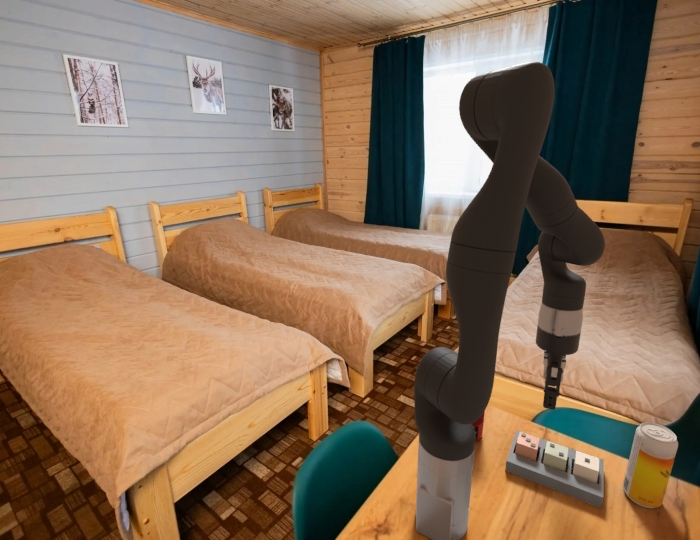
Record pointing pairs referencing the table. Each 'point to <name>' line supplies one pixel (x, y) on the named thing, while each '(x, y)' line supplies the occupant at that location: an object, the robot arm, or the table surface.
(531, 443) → the tile three terracotta
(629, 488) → the beer can
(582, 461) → the tile one cream
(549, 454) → the tile two sage
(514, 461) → the slate board
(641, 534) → the table surface
